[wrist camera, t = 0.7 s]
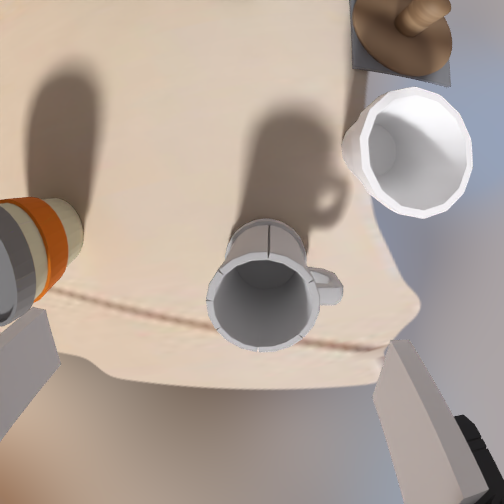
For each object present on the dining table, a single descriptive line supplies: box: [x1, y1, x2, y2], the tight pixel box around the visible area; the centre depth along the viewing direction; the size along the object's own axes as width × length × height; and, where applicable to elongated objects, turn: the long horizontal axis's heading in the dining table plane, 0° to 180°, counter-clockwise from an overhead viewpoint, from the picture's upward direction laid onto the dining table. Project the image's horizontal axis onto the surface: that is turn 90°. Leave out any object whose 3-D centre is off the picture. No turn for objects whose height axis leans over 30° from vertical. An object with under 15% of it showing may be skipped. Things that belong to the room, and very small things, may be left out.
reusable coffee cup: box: [0, 197, 83, 326], centre depth 29 cm, size 13×13×15 cm
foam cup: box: [341, 87, 473, 219], centre depth 25 cm, size 10×9×13 cm
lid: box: [352, 0, 452, 77], centre depth 22 cm, size 12×12×9 cm
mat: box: [349, 0, 451, 87], centre depth 26 cm, size 12×12×1 cm
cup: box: [206, 219, 343, 352], centre depth 30 cm, size 10×9×12 cm
